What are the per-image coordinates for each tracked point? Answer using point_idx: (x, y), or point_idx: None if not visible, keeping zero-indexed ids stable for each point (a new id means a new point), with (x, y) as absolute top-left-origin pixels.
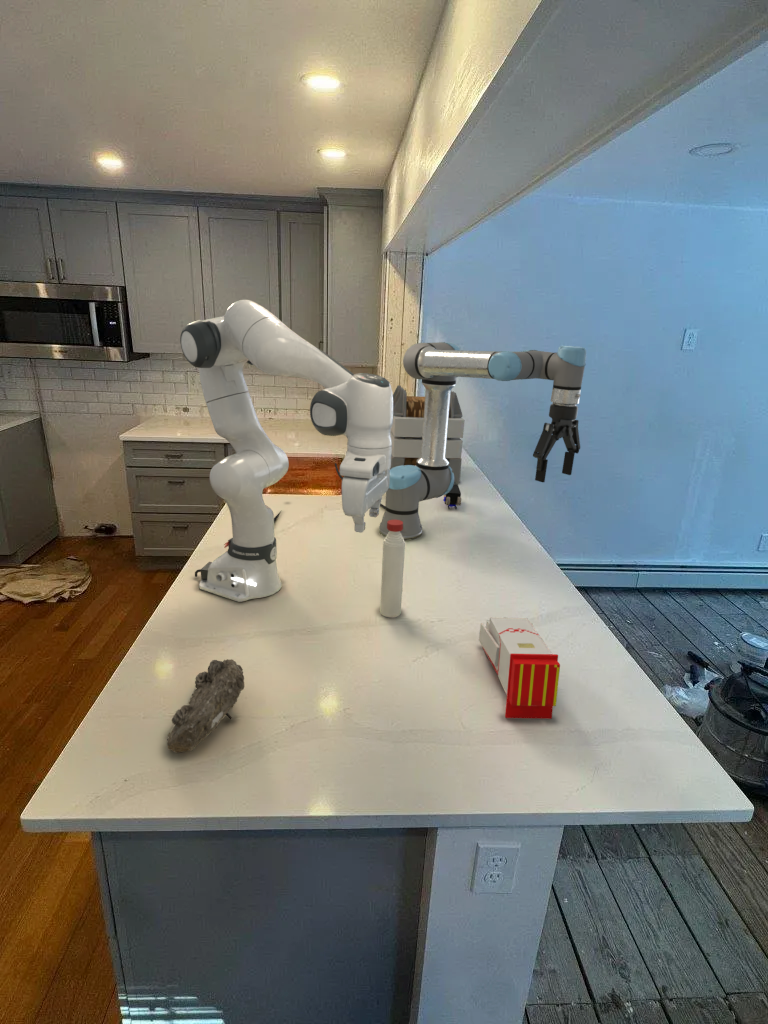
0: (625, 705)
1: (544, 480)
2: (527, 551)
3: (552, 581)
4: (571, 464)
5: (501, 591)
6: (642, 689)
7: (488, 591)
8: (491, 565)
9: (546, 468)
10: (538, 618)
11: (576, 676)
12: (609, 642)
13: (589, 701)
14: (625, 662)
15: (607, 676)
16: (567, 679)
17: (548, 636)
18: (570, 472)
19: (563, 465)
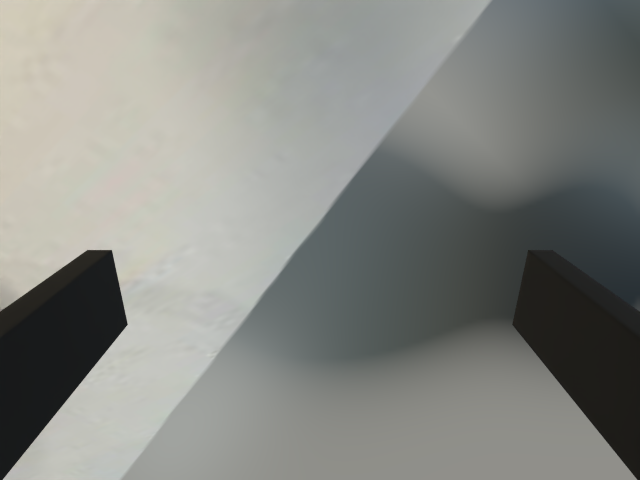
0: (60, 474)
1: (115, 333)
2: (433, 16)
3: (302, 203)
4: (572, 397)
5: (134, 157)
6: (114, 472)
7: (100, 135)
8: (232, 16)
9: (49, 419)
10: (121, 286)
11: None
12: (178, 399)
13: None
14: (150, 436)
15: (91, 437)
16: None
17: None
18: (529, 339)
19: (574, 292)
